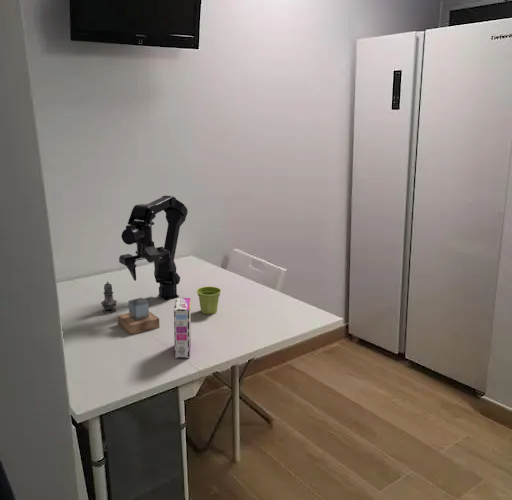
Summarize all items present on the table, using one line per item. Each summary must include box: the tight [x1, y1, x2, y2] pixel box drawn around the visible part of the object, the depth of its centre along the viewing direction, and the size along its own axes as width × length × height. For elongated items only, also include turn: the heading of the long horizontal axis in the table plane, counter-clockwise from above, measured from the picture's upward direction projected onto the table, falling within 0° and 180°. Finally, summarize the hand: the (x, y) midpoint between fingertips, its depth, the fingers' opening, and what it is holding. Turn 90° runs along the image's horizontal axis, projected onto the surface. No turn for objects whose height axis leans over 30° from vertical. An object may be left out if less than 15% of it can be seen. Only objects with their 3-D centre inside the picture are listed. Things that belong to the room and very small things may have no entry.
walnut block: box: [117, 311, 160, 336], centre depth 187 cm, size 11×11×4 cm
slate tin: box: [128, 297, 150, 321], centre depth 186 cm, size 5×5×6 cm
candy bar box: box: [173, 297, 192, 359], centre depth 167 cm, size 11×5×16 cm, turn 5°
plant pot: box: [196, 286, 222, 315], centre depth 201 cm, size 9×9×9 cm
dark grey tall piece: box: [100, 280, 118, 314], centre depth 200 cm, size 6×6×12 cm
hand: (146, 278), depth 199 cm, fingers open, 9 cm apart
